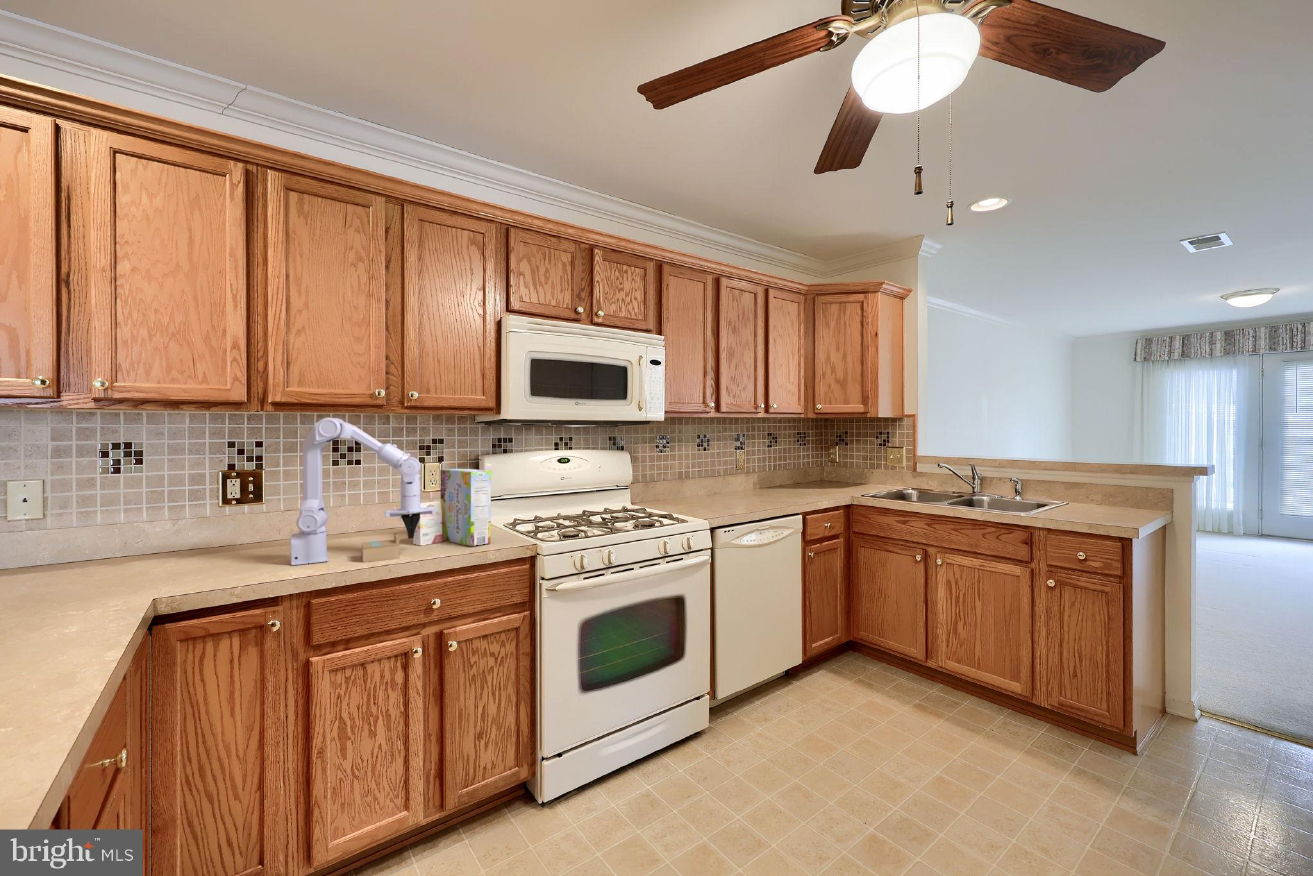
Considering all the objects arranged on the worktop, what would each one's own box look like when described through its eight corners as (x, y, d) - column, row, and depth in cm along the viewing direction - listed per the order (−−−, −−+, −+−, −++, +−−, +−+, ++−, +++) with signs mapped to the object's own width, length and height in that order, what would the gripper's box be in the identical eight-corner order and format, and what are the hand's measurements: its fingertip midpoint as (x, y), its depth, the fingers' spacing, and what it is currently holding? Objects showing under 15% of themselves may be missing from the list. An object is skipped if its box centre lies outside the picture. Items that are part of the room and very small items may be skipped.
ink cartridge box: (435, 540, 201) (434, 499, 201) (442, 542, 198) (442, 500, 198) (412, 544, 194) (411, 502, 194) (420, 546, 191) (419, 503, 191)
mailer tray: (363, 562, 168) (362, 549, 168) (361, 557, 175) (361, 544, 175) (399, 558, 173) (399, 545, 173) (396, 553, 180) (396, 541, 180)
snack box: (493, 543, 195) (492, 470, 194) (470, 548, 188) (469, 471, 188) (461, 536, 209) (460, 467, 209) (438, 539, 203) (438, 468, 202)
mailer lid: (362, 549, 168) (362, 540, 168) (361, 544, 175) (361, 535, 175) (399, 545, 173) (399, 536, 173) (396, 540, 180) (396, 532, 180)
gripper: (386, 498, 171) (386, 542, 172) (436, 495, 179) (437, 537, 179) (384, 496, 177) (384, 538, 178) (433, 493, 185) (433, 534, 185)
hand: (410, 538), depth 179 cm, fingers closed
